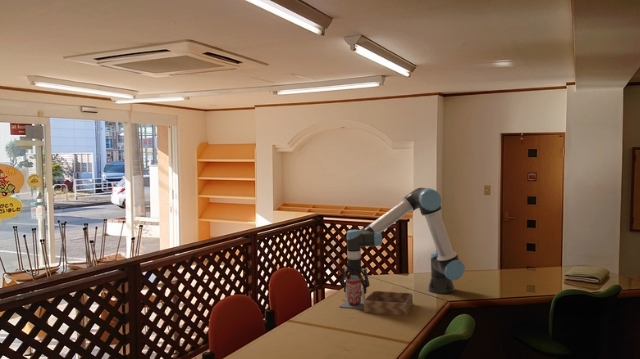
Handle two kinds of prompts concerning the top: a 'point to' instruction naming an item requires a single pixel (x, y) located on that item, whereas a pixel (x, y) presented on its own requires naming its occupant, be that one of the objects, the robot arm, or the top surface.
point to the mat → (352, 305)
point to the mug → (354, 290)
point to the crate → (388, 302)
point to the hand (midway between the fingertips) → (355, 298)
